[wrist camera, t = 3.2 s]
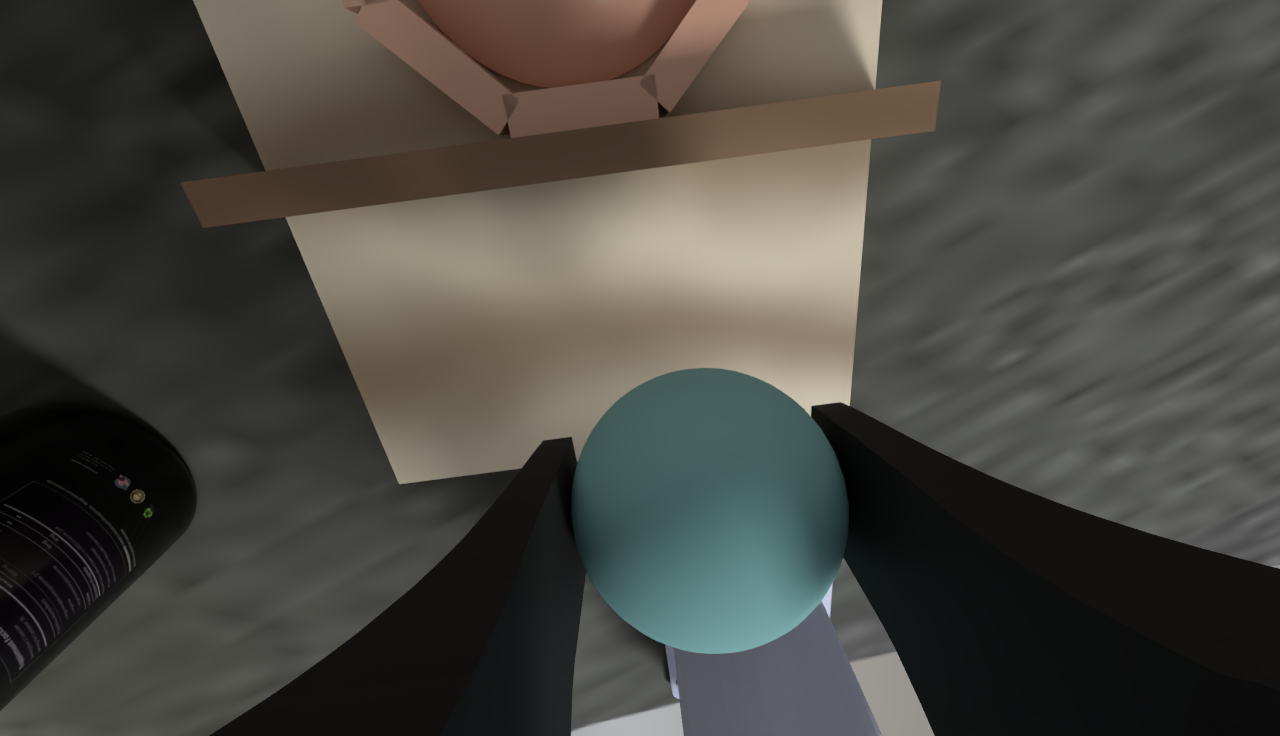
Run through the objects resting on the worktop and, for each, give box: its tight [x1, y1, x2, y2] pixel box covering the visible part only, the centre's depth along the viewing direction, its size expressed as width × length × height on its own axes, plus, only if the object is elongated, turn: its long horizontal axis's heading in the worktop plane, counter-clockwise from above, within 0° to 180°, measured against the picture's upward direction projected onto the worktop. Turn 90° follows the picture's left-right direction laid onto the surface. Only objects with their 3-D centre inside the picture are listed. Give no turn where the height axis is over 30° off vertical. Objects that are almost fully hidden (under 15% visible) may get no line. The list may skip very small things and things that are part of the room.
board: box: [180, 0, 941, 484], centre depth 12 cm, size 22×17×4 cm
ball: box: [571, 368, 849, 654], centre depth 9 cm, size 5×5×5 cm
